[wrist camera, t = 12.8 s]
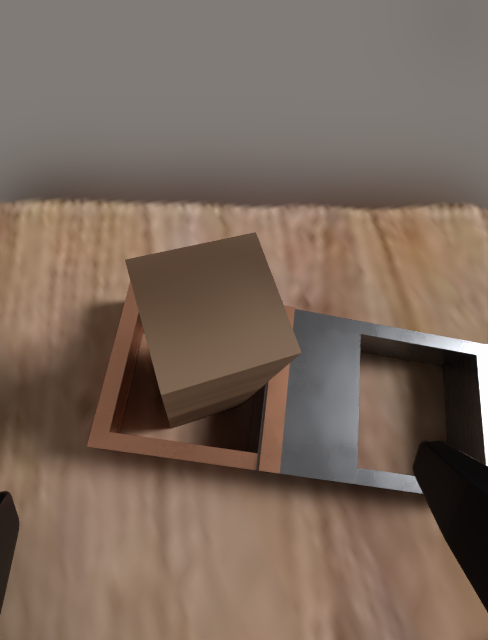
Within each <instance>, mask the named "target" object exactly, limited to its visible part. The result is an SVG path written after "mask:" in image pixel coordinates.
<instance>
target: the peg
mask: <svg viewBox="0 0 488 640" xmlns="http://www.w3.org/2000/svg"><path fill="white" fill-rule="evenodd" d="M125 262H126V265H127V269H128V273H129V277H130V280H131V284H132V288H133V292H134V295H135V299H136V303H137V307H138V310H139V314H140V318H141V322H142V325H143V329H144V333H145V337H146V340H147V344H148V348H149V352H150V355H151V359H152V363H153V367H154V370H155V374H156V378H157V382H158V385H159V389H160V393H161V397H162V400H163V403H164V406H165V410H166V413H167V416H168V420H169V423H170V426H171V428H174V427H177V426H180V425H183V424H186V423H189V422H192V421H196V420H199V419H202V418H205V417H208V416H211V415H214V414H217V413H220V412H223V411H226V410H229V409H232V408H235V407H239V406H241V405H242V404H243V403H244V402H245V401H246V400H248V399H249V398H250V397H251V396H252V395H253V394H254V393H256V392H257V391H258V390H259V389H260V388H261V387H263V386H264V385H265V384H266V383H267V382H268V381H270V380H271V379H272V378H273V377H274V376H275V375H276V374H278V373H279V372H280V371H281V370H282V369H283V368H285V367H286V366H287V365H288V364H289V363H290V362H292V361H293V360H294V359H295V358H296V357H297V356H298V355H300V354H301V353H302V352H301V350H300V347H299V344H298V342H297V339H296V337H295V334H294V331H293V329H292V326H291V323H290V321H289V318H288V316H287V313H286V310H285V308H284V305H283V303H282V300H281V297H280V295H279V292H278V289H277V287H276V284H275V282H274V279H273V276H272V274H271V271H270V268H269V266H268V263H267V261H266V258H265V255H264V253H263V250H262V248H261V245H260V242H259V240H258V237H257V234H256V232H255V233H250V234H246V235H241V236H236V237H231V238H227V239H222V240H217V241H212V242H208V243H203V244H198V245H193V246H189V247H184V248H179V249H174V250H170V251H165V252H160V253H155V254H151V255H146V256H141V257H136V258H131V259H127V260H125Z"/></svg>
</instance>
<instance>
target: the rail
mask: <svg viewBox="0 0 488 640" xmlns="http://www.w3.org/2000/svg"><path fill="white" fill-rule="evenodd" d="M284 308H285V310H286V313H287V316H288V318H289V321H290V323H291V326H292V329H293V331H294V334H295V337H296V339H297V342H298V344H299V347H300V350H301V352H302V353H301V354H300V355H298V356H297V357H296V358H295V359H294V360H293V361H292V362H290V363H289V364H288V365H287V366H286V367H285V368H283V369H282V370H281V371H280V372H279V373H278V374H276V375H275V376H274V377H273V378H272V379H271V380H270V381H268V382H267V383H266V384H265V385H264V386H263V387H261V388H260V389H259V390H258V391H257V392H256V393H255V397H254V405H253V413H252V422H251V430H250V438H249V446H248V452H244V451H237V450H230V449H223V448H216V447H209V446H202V445H196V444H189V443H182V442H175V441H168V440H161V439H154V438H147V437H140V436H133V435H126V434H119V432H120V428H121V424H122V420H123V415H124V411H125V407H126V403H127V399H128V394H129V390H130V386H131V382H132V377H133V373H134V369H135V365H136V361H137V356H138V352H139V348H140V344H141V340H142V335H143V331H144V329H143V325H142V322H141V318H140V314H139V310H138V307H137V303H136V299H135V295H134V292H133V288H132V284H131V281H130V284H129V288H128V292H127V296H126V300H125V303H124V307H123V311H122V315H121V319H120V322H119V326H118V330H117V334H116V337H115V341H114V345H113V349H112V353H111V356H110V360H109V364H108V368H107V372H106V375H105V379H104V383H103V387H102V391H101V394H100V398H99V402H98V406H97V410H96V413H95V417H94V421H93V425H92V429H91V432H90V436H89V440H88V444H87V447H94V448H101V449H108V450H115V451H122V452H129V453H136V454H144V455H151V456H158V457H165V458H172V459H179V460H186V461H194V462H201V463H208V464H215V465H222V466H229V467H236V468H244V469H251V470H258V471H265V472H272V473H279V474H286V475H294V476H301V477H308V478H315V479H322V480H329V481H336V482H344V483H351V484H358V485H365V486H372V487H379V488H386V489H393V490H401V491H408V492H415V493H422V491H421V489H420V486H419V484H418V482H417V480H416V478H415V476H410V475H403V474H396V473H389V472H382V471H375V470H368V469H361V468H357V462H358V421H359V381H360V352H364V353H370V354H376V355H381V356H387V357H393V358H398V359H404V360H410V361H415V362H421V363H427V364H432V365H438V366H443V370H444V388H445V407H446V425H447V444H449V445H450V446H452V447H454V448H456V449H458V450H459V451H461V452H463V453H465V454H467V455H468V456H470V457H472V458H474V459H476V460H477V461H479V462H481V463H483V464H485V465H486V466H488V345H487V344H481V343H476V342H470V341H465V340H459V339H454V338H449V337H443V336H438V335H432V334H427V333H422V332H416V331H411V330H405V329H400V328H395V327H389V326H384V325H378V324H373V323H368V322H362V321H357V320H351V319H346V318H341V317H335V316H330V315H324V314H319V313H314V312H308V311H303V310H297V309H295V307H289V306H284ZM422 494H423V493H422Z"/></svg>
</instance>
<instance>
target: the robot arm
mask: <svg viewBox="0 0 488 640" xmlns="http://www.w3.org/2000/svg"><path fill="white" fill-rule="evenodd" d="M413 472H414V476H415V478H416V480H417V482H418V484H419V486H420V489H421V491H422V493H423V495H424V497H425V499H426V501H427V503H428V505H429V508H430V510H431V512H432V514H433V516H434V518H435V520H436V522H437V524H438V526H439V529H440V531H441V532H442V534H443V536H444V538H445V540H446V542H447V544H448V546H449V547H450V549H451V551H452V553H453V554H454V556H455V558H456V559H457V561H458V563H459V565H460V566H461V568H462V570H463V571H464V573H465V575H466V576H467V578H468V580H469V581H470V583H471V585H472V587H473V588H474V590H475V592H476V593H477V595H478V597H479V598H480V600H481V602H482V604H483V605H484V607H485V609H486V610H487V612H488V466H486V465H485V464H483V463H481V462H479V461H477V460H476V459H474V458H472V457H470V456H468V455H467V454H465V453H463V452H461V451H459V450H458V449H456V448H454V447H452V446H450V445H449V444H447V443H445V442H443V441H441V440H439V439H432V440H424V441H422V442H421V443H420V444H419V447H418V451H417V454H416V457H415V461H414V464H413ZM18 532H19V518H18V514H17V511H16V508H15V505H14V502H13V499H12V496H11V494H10V493H9V492H8V491H2V492H0V614H1V609H2V605H3V601H4V596H5V592H6V587H7V583H8V578H9V573H10V569H11V564H12V560H13V555H14V550H15V546H16V541H17V537H18Z"/></svg>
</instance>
